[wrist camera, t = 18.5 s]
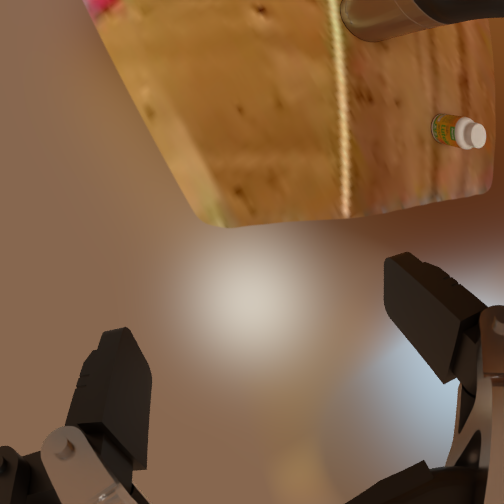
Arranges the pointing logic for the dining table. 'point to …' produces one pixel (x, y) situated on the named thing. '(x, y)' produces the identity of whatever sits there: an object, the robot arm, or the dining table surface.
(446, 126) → the supplement bottle
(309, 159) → the dining table surface
